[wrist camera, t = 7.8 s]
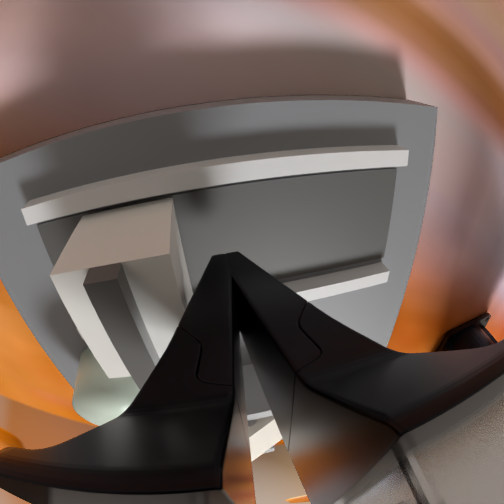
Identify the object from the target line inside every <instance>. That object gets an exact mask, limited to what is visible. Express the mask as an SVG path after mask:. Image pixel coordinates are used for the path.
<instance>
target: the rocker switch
mask: <svg viewBox="0 0 504 504" xmlns="http://www.w3.org/2000/svg"><path fill="white" fill-rule="evenodd" d="M248 431H249V441H250V452H251V461H253V460H254V459H256V458H257V457H259V456H260V455H261V454H263V453H264V452H265V451H267V450H268V449H269V448H271V447H272V446H273V445H275V444H276V443H277V442H279V441H280V440H281V439H283V438H282V436H281V434H280V431H279V429H278V426H277V424H276V422H275V419H274V417H273V416H268V417H264V418H259V419H254V420H250V421H248Z"/></svg>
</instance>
